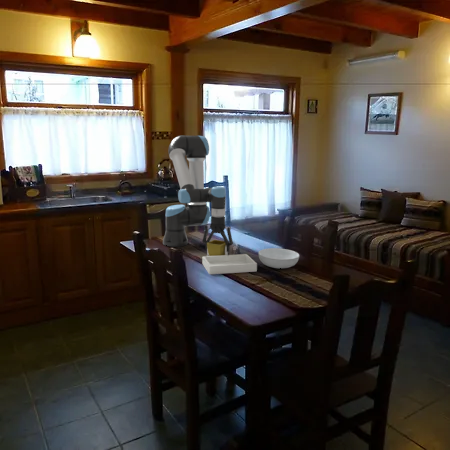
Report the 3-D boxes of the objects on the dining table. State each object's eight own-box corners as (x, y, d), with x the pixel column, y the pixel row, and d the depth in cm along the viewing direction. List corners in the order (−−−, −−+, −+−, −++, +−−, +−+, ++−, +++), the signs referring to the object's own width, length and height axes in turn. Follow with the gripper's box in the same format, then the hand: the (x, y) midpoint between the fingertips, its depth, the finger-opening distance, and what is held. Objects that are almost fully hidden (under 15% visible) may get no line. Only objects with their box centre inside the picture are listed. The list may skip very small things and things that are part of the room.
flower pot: (206, 258, 231) (206, 242, 229) (214, 255, 238) (214, 239, 237) (220, 261, 227) (220, 245, 225) (228, 257, 235) (228, 241, 233)
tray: (202, 263, 222) (202, 256, 221) (246, 261, 228) (246, 254, 227) (209, 274, 206) (209, 266, 205) (256, 271, 212) (256, 263, 211)
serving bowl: (297, 274, 210) (298, 260, 208) (255, 270, 214) (256, 257, 212) (299, 261, 230) (300, 249, 228) (260, 258, 234) (261, 246, 232)
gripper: (196, 215, 227) (195, 256, 232) (236, 218, 221) (235, 260, 226) (200, 213, 234) (200, 252, 239) (239, 216, 228) (238, 256, 233)
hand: (217, 256), depth 232 cm, fingers closed on flower pot, 9 cm apart
